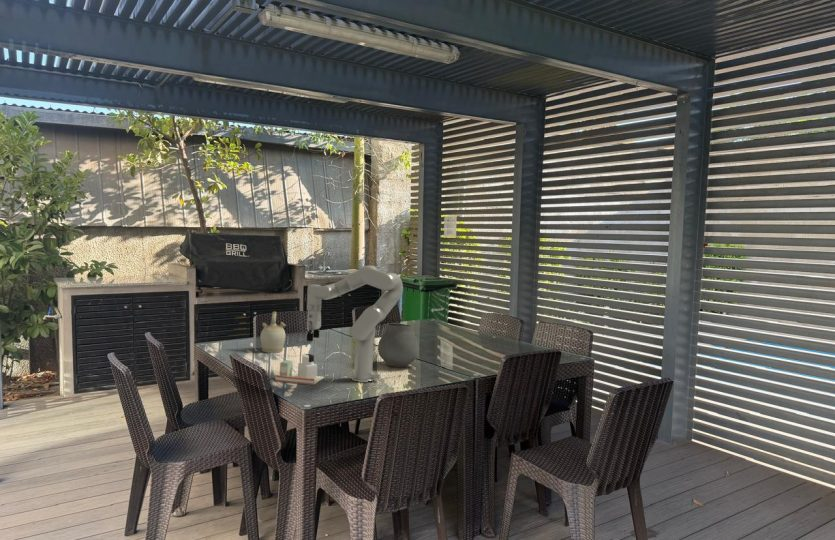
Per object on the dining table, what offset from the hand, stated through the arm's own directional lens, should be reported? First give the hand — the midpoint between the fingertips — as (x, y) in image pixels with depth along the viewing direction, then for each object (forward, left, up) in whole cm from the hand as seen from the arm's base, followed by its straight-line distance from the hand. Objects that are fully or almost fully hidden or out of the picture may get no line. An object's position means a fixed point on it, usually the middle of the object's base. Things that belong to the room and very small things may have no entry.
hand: (313, 339), depth 308 cm
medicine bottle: (-1, +9, -19) cm, 21 cm away
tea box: (+8, +16, -19) cm, 26 cm away
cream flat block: (+1, +13, -19) cm, 23 cm away
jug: (+42, -44, -19) cm, 64 cm away
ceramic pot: (-40, -36, -19) cm, 57 cm away
